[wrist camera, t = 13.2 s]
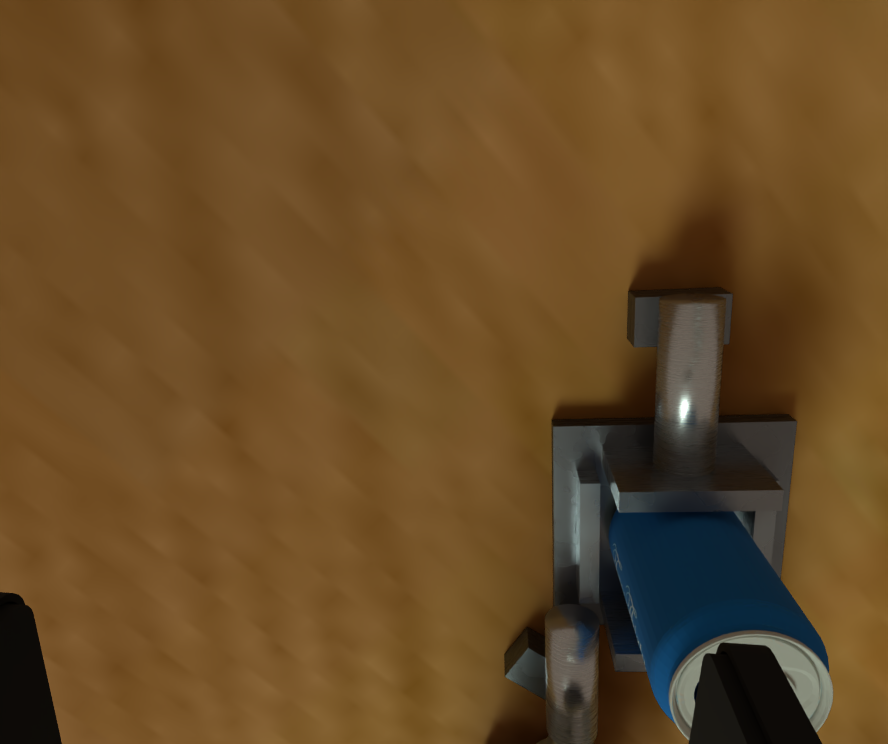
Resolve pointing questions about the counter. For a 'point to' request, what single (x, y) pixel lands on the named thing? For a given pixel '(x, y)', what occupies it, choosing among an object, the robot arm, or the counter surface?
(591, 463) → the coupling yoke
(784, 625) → the beverage can
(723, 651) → the robot arm
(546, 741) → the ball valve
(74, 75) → the counter surface
